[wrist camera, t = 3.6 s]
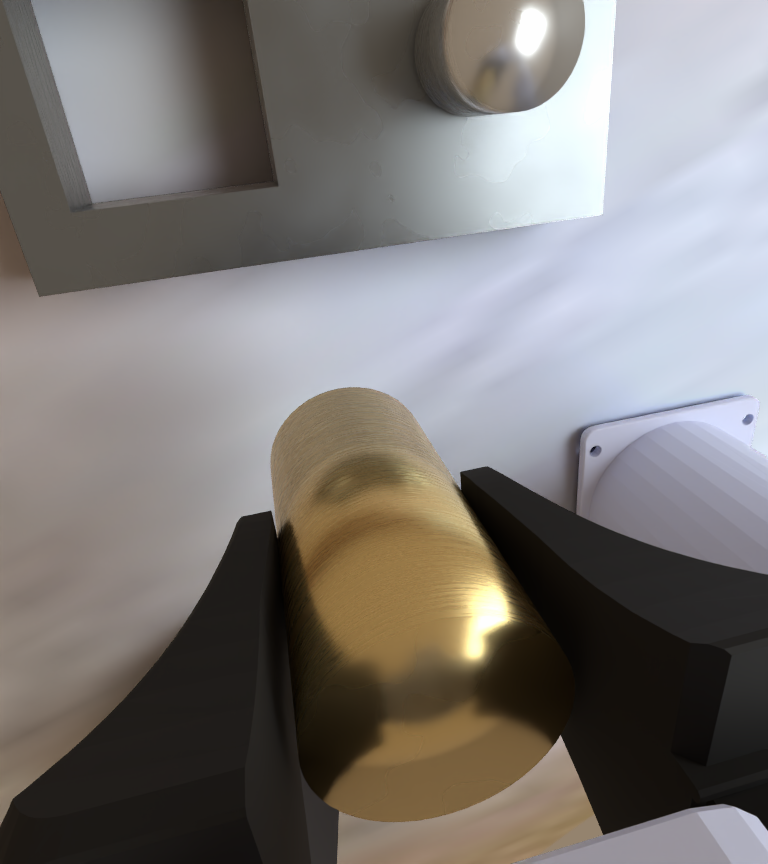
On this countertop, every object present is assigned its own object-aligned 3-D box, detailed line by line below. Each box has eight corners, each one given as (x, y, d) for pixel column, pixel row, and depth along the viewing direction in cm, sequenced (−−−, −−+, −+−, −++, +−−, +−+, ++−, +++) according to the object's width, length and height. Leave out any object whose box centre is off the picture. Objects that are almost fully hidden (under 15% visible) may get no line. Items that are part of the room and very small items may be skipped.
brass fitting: (429, 507, 17) (569, 778, 10) (285, 538, 16) (322, 851, 9) (417, 374, 15) (581, 587, 8) (256, 403, 14) (272, 661, 7)
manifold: (562, 207, 20) (665, 227, 15) (64, 277, 18) (-2, 328, 13) (575, -148, 16) (721, -274, 11) (-73, -119, 14) (-244, -261, 9)
